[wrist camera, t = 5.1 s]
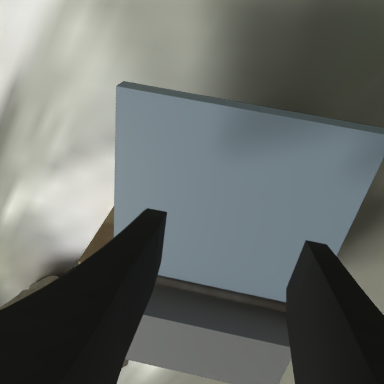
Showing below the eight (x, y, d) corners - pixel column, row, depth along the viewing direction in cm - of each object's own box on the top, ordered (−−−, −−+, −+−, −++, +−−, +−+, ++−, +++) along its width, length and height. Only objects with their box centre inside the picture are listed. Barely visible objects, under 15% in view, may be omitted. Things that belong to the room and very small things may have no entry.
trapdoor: (374, 116, 14) (410, 152, 11) (278, 337, 21) (283, 395, 18) (134, 73, 14) (101, 96, 11) (124, 303, 22) (103, 353, 19)
